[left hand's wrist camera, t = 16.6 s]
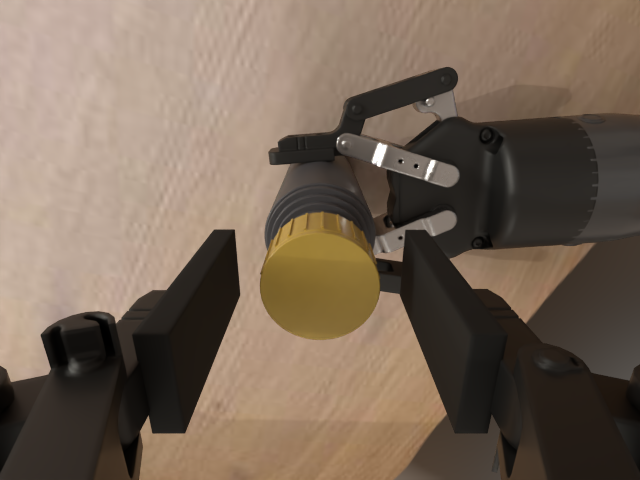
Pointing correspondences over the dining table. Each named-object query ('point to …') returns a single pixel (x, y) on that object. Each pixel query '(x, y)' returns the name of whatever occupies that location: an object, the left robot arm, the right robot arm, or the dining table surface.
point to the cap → (320, 277)
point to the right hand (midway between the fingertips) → (277, 202)
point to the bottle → (320, 196)
